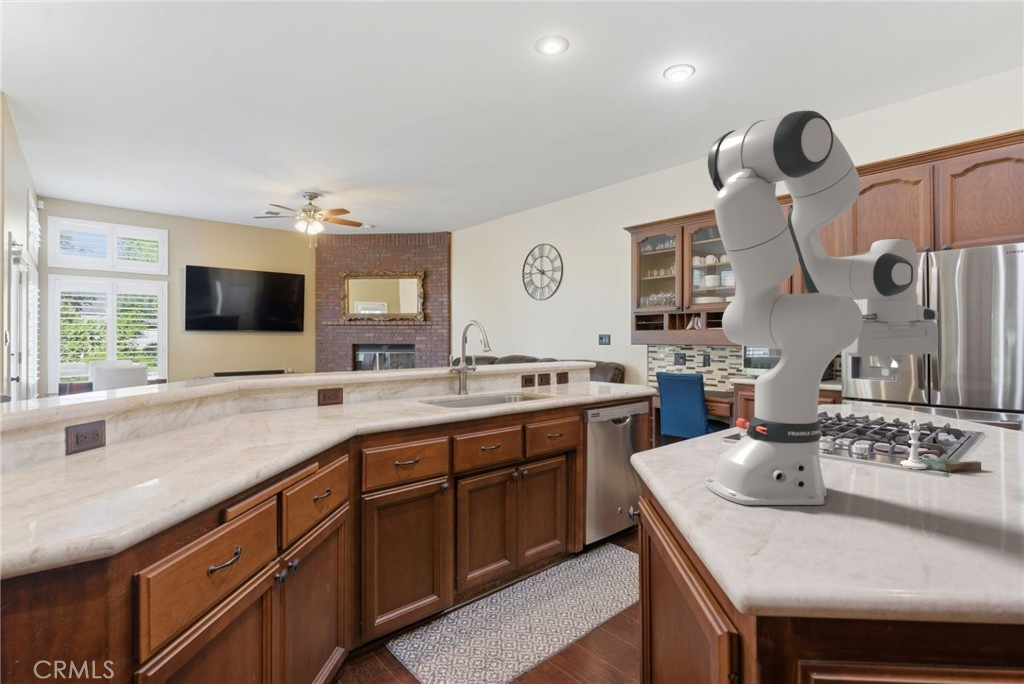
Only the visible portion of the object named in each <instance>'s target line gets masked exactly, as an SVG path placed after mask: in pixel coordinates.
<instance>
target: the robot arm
mask: <svg viewBox="0 0 1024 684" xmlns="http://www.w3.org/2000/svg"><path fill="white" fill-rule="evenodd" d="M707 169H708V174H709V177H710V180H711V181H712V185H713V187H714V188H715V190H716V191H717V193H716V195H715V197H714V200H713V208H714V214H715V221H716V225H717V229H718V232H719V235H720V239H721V243H722V245H723V248H724V250H725V252H726V256H727V258H728V260H729V265H730V267H731V271H732V273H733V276H734V281H735V295H734V297H733V300H731V302H730V303H729V304H727V306H726V308H725V310H724V312H723V315H722V319H721V324H722V325H721V326H722V330H723V333H724V336H725V337H726V339H727V340H728V341H729V342H731V343H733V344H737V345H740V346H743V347H747V348H751V349H764V350H765V349H766V350H767V349H768V350H769V349H770V350H781V355H780V358H779V361H778V362H777V364H776V365H775V366H774V367H771V368H768V369H767V370H765V371H763V372H762V373H761V374H759V375H758V377H757V378H756V379H755V383H754V414H753V416H752V417H751V420H750V421H749V420H748V419H745V418H741V417H739V418H737V420H736V421H735V426H736V428H739V429H742V430H746V432H745V433H746V434H745V435H744V436H743V437H742V438H741V439H739V440H738V441H736V442H735V443H734V444H733V445H731V446H730V447H729V448H728V449H726V450H725V451H723V452H722V453H720V455H719V457H718V459H717V462H716V469H715V474H714V475H708V476H705V477H704V480H703V484H704V486H705V487H706V488H707V489H708V490H710V491H711V492H712V493H714V494H716V495H718V496H720V497H721V498H724V499H726V500H729V501H730V502H733V503H737V504H740V505H745V506H762V505H763V506H769V505H770V506H772V505H773V506H783V505H784V506H785V505H787V506H792V505H793V506H796V505H797V506H799V505H800V506H801V505H802V506H803V505H805V506H811V505H812V506H814V505H815V506H819V505H820V506H821V505H824V504H825V497H826V496H827V495H828V492H827V489H826V486H825V482H824V479H823V474H822V466H821V460H820V452H819V450H820V449H819V442H820V440H821V421H820V420H819V419H818V418H819V398H820V397H819V395H820V388H821V382H822V379H823V376H824V373H825V371H826V370H827V368H828V366H829V364H830V363H831V361H833V359H834V358H835V357H837V355H838V354H840V353H841V352H842V351H844V350H845V353H846V354H847V356H848V357H854V358H855V357H856V358H859V357H860V358H861V357H863V358H865V357H876V361H877V362H878V364H879V366H880V368H881V375H882V376H885V377H893V376H895V377H896V376H897V377H899V376H900V375H901V368H902V366H903V365H904V363H905V362H906V356H907V355H909V356H910V355H928V354H929V355H930V354H934V353H936V351H937V349H938V348H939V327H938V324H937V322H935V321H937V320H939V312H938V311H937V310H935V309H933V308H929V307H927V306H924V305H921V304H919V303H918V301H919V300H918V299H919V297H918V294H917V288H916V287H917V283H918V280H919V263H918V253H917V249H916V248H917V247H916V245H915V243H914V242H913V240H911V239H910V240H909V239H907V238H902V237H901V238H899V237H898V238H897V237H894V238H893V237H891V238H890V237H889V238H883V239H879V240H876V241H874V242H873V243H871V247H870V250H869V251H868V252H866V253H864V254H862V253H861V254H857V255H856V254H855V255H848V256H841V257H840V256H839V257H837V256H836V257H835V256H830V255H828V254H827V252H826V251H825V247H824V244H823V241H822V237H821V233H820V229H821V228H824V226H826V225H828V224H830V223H832V222H834V221H836V220H837V219H839V218H840V217H842V216H843V215H844V214H845V213H847V212H848V211H849V210H850V208H851V207H852V206H853V205H854V204H855V202H856V201H857V199H858V196H859V195H860V191H861V187H862V186H861V185H862V184H861V179H860V175H859V172H858V171H857V168H856V166H855V164H854V162H853V160H852V158H851V156H850V154H849V152H848V151H847V149H846V147H845V146H844V144H843V143H842V141H841V140H840V138H839V137H838V136H837V134H836V133H835V132H834V131H833V128H832V126H831V124H830V122H829V121H828V119H827V118H825V116H823V114H821V113H819V112H818V111H815V110H798V111H797V110H796V111H793V112H790V113H788V114H786V115H780V116H776V117H771V118H768V119H762V120H758V121H754V122H751V123H750V124H747V125H745V126H743V127H740V128H738V129H734V130H731V131H728V132H727V133H725V134H723V135H722V136H720V137H719V138H718V139H716V140H715V141H714V142H713V143H712V145H711V147H710V148H709V151H708V156H707ZM782 181H783V183H784V185H785V187H786V189H787V191H788V193H789V195H790V196H791V198H792V204H793V206H792V207H791V208H790V210H789V211H788V215H787V219H786V216H785V214H784V211H783V209H782V206H781V204H780V202H779V200H778V198H777V196H776V187H777V183H779V182H782ZM798 264H799V265H798ZM798 266H800V268H801V273H802V280H803V287H804V290H805V292H806V293H791V294H790V293H789V294H788V293H784V292H783V291H782V290H781V286H780V285H781V284H783V283H785V282H786V281H788V279H789V278H791V276H793V274H794V273H795V272H796V270H797V268H798ZM855 300H856V301H855ZM857 300H858V301H861V300H866V314H863V313H862V310H861V308H860V306H859V305H858V304H857ZM891 360H892V362H891V363H890V361H891Z"/></svg>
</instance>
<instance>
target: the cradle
mask: <svg viewBox="0 0 1024 684" xmlns="http://www.w3.org/2000/svg"><path fill="white" fill-rule="evenodd" d="M910 452H911V451H906V456H905V458H906V457H907V458H909V457H910ZM924 454H934V455H937V456H940V451H939V450H937V449H933V450H918V457H919V456H922V455H924ZM919 460H921V461H920V462H923V463H927V464H930V465H934V466H938V467H941V468H943V469H946V470H947V471H948V472H947V471H946V472H947V473H960V472H961V473H963V472H978V471H982V461H978V460H971V461H960V460H959V461H958V460H954V459H950V458H947V457H944V459H943V461H941V462H940V461H939V462H937V461H935V460H934V461H933V460H929V459H927V460H926V459H922V458H919Z"/></svg>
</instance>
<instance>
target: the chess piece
mask: <svg viewBox="0 0 1024 684" xmlns="http://www.w3.org/2000/svg"><path fill="white" fill-rule="evenodd" d="M909 428H910V429H912V430H909V431H908V433H909V436H910V439H911V440H908V443H909V444H911V447H910V451H909V452H910V457H909V458H908V460H906V459H905V460H900V463H899V464H902V465H903V466H908V467H914V468H926V467H928V468H929V466H928V465H927V464H925V463H922V462H920V461H921V460H919V457H918V451H919V450H918V445H920V444H921V442H920V441H919V440H918V439H919V437H920V435H921V432H920V431H918V430H917V429H921V428H920V425H917V423H916V422H913V423H912V425H909Z"/></svg>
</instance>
